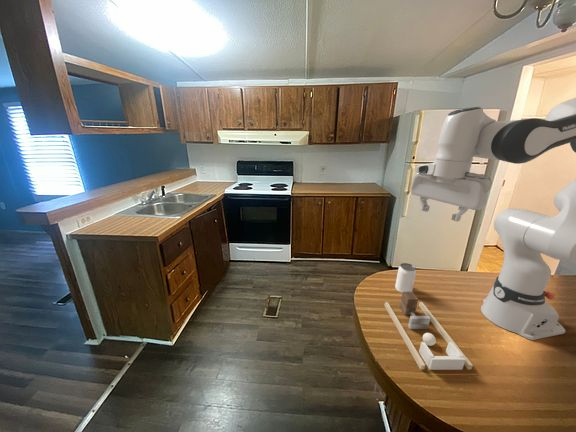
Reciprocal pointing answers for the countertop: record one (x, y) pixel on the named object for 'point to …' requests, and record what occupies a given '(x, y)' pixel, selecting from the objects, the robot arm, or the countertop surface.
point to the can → (405, 278)
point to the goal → (443, 358)
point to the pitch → (409, 343)
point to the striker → (413, 311)
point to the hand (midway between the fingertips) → (439, 215)
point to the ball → (429, 339)
